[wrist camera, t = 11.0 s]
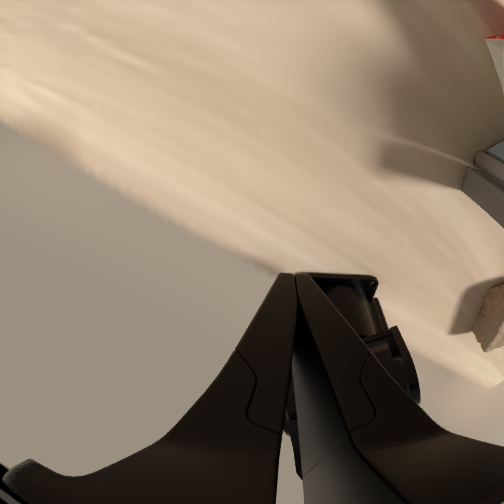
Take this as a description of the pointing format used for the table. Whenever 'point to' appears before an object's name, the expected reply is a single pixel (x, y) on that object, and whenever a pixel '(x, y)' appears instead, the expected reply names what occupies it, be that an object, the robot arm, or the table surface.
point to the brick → (491, 320)
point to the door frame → (485, 193)
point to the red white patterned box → (497, 55)
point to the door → (492, 161)
